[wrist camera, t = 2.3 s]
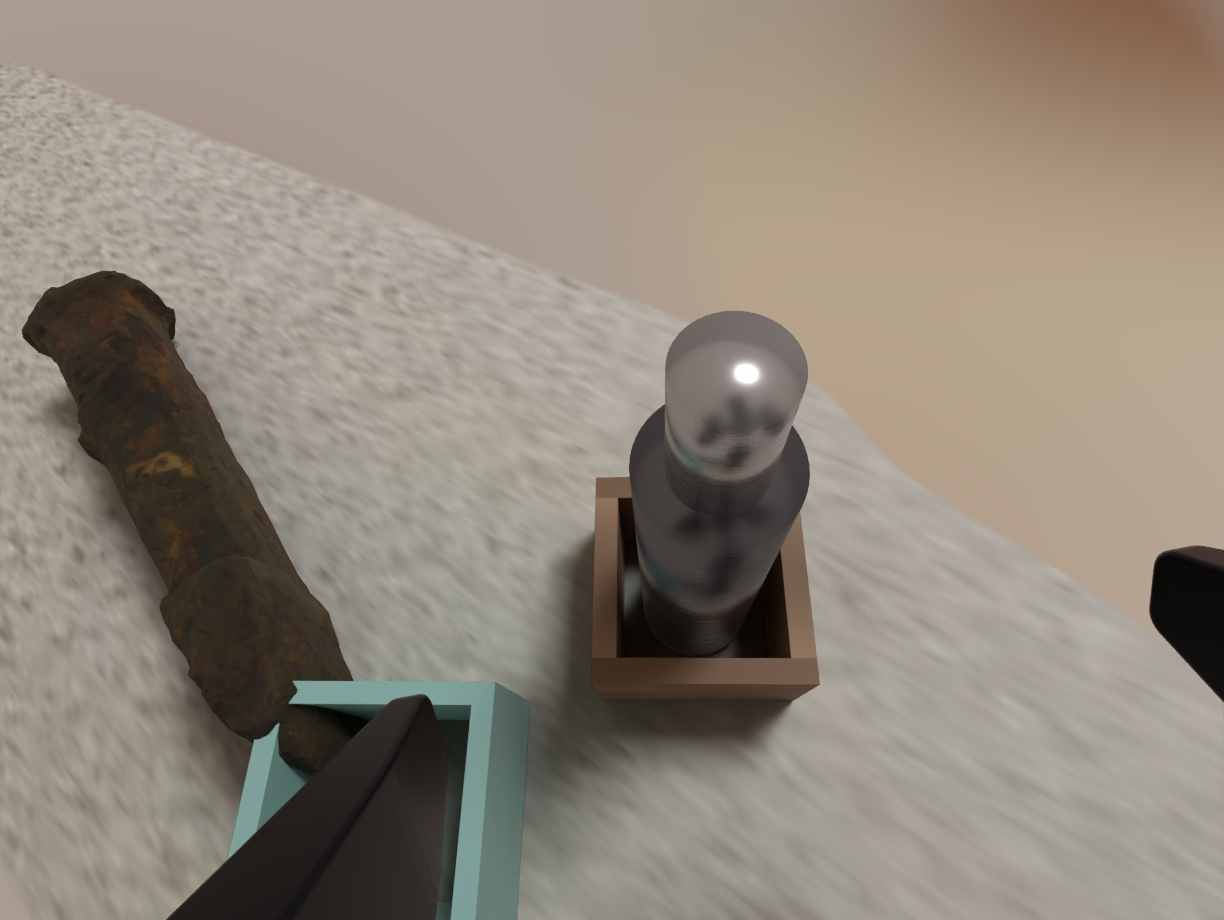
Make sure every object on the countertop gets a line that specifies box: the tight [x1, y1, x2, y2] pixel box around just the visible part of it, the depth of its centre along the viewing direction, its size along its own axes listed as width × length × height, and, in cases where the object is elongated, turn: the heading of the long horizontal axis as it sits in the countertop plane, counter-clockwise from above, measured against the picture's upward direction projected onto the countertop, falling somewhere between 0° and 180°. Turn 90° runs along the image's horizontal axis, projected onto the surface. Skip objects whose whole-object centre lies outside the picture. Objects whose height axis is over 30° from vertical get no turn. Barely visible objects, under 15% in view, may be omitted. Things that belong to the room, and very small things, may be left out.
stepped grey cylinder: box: [629, 311, 810, 656], centre depth 14 cm, size 3×3×13 cm
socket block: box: [591, 477, 820, 700], centre depth 19 cm, size 5×5×4 cm
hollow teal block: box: [228, 681, 530, 920], centre depth 16 cm, size 5×5×4 cm
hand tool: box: [22, 271, 364, 777], centre depth 20 cm, size 19×4×5 cm, turn 35°
